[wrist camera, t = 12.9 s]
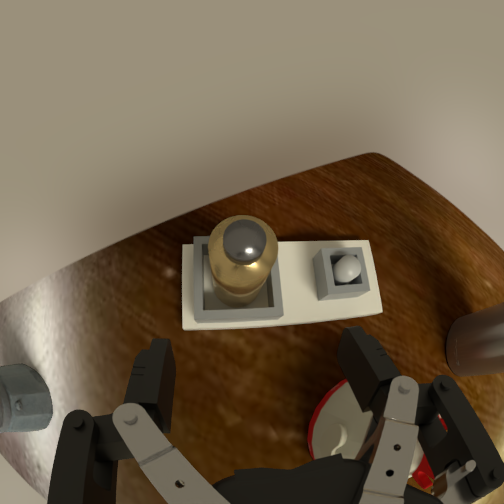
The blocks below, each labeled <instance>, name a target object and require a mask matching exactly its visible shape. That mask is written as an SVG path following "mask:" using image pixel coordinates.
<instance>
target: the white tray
mask: <svg viewBox="0 0 504 504" xmlns="http://www.w3.org/2000/svg"><path fill="white" fill-rule="evenodd" d="M209 238H210V236H195V237H194V244H184V245H183V251H182V321H183V329H184V330H215V329H239V328H256V327H271V326H283V325H295V324H305V323H315V322H324V321H332V320H340V319H348V318H355V317H362V316H369V315H375V314H379V313H381V312H383V311H382V305H381V299H380V293H379V287H378V282H377V277H376V272H375V267H374V262H373V258H372V253H371V249H370V244H369V240H348V241H296V242H278V256H277V259H276V262H275V263H274V265H273V267H272V269H271V271H270V273H269V275H268V277H267V279H266V281H265V282H264V284H263V286H262V288H261V290H260V292H259V294H258V296H257V297H256V299H255V300H254V301H253V302H252V303H250V304H249V305H247V306H244V307H239V308H236V307H230V306H227V305H225V304H224V303H222V302H221V301H220V300H219V299H218V298H217V296H216V294H215V292H214V288H213V281H212V273H211V266H210V259H209V251H208V242H209Z"/></svg>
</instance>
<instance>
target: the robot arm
mask: <svg viewBox="0 0 504 504" xmlns="http://www.w3.org/2000/svg"><path fill="white" fill-rule="evenodd" d="M446 355H447V361H448V364H449V367H450V368H451V370H452V372H453V373H454V374H456V375H457V376H474V375H486V374H495V373H502V372H504V302H503V303H500V304H497V305H495V306H492V307H489V308H486V309H483V310H480V311H477V312H474V313H471V314H468V315H465V316H462V317H459V318H458V319H456V320H455V322H454V323H453V324H452V326H451V328H450V330H449V333H448V337H447V344H446ZM337 359H338V363H339V365H340V367H341V369H342V371H343V373H344V375H345V377H346V379H347V381H348V383H349V385H350V387H351V389H352V391H353V394H354V396H355V398H356V400H357V402H358V404H359V406H360V408H361V410H362V412H363V413H364V412H368V411H372V413H373V415H372V417H371V419H370V422H369V425H368V428H367V431H366V434H365V437H364V440H363V443H362V446H361V448H360V450H359V452H358V454H357V455H356V457H355V459H346V458H343V457H342V454H341V453H339V454H335V455H331V456H327V457H323V458H318V459H315V460H313V461H311V462H309V463H306V464H304V465H302V466H299V467H297V468H295V469H291V470H285V469H271V468H253V469H240V470H234V473H235V475H233V476H230V477H227V478H224V479H222V480H220V481H218V482H216V483H215V484H213V485H212V486H211V485H210V484H209V483H208V482H207V481H206V480H205V479H204V478H203V477H202V476H201V475H200V474H199V473H198V472H197V471H196V470H195V469H194V467H193V466H192V465H191V464H190V463H189V462H188V461H187V460H186V459H185V458H184V456H183V455H182V454H181V453H180V452H179V451H178V450H177V449H176V448H175V447H174V446H172V445H171V444H170V442H169V441H168V440H167V439H166V438H165V436H164V435H163V433H170V429H171V417H172V405H173V395H174V386H175V377H176V366H175V360H174V356H173V351H172V347H171V342H170V339H152V342H151V346H150V350H141V352H140V353H139V354H138V355H137V356H136V358H135V361H134V365H133V368H132V372H131V376H130V379H129V383H128V387H127V391H126V395H125V399H124V403H123V405H121V406H119V407H118V408H117V409H116V410H115V411H114V413H112V414H109V415H103V416H95V417H92V416H91V415H90V414H89V413H88V412H86V411H84V410H74V411H72V412H70V413H69V414H67V416H66V417H65V419H64V421H63V425H62V429H61V433H60V437H59V441H58V445H57V449H56V454H55V459H54V464H53V469H52V474H51V480H50V487H49V494H48V502H47V504H116V482H117V468H118V460H122V459H129V458H135V459H136V460H137V462H138V463H139V466H140V468H141V469H142V470H143V472H144V473H145V475H146V476H147V477H148V479H149V480H150V481H151V483H152V484H153V485H154V487H155V488H156V489H157V490H158V492H159V493H160V494H161V495H162V497H163V498H164V499H165V500H166V501H167V503H168V504H472V503H474V502H475V501H477V500H479V499H481V498H482V497H484V496H486V495H487V494H489V493H490V492H492V491H494V490H495V489H497V488H498V487H500V486H501V485H502V484H503V482H504V463H503V461H502V459H501V457H500V455H499V453H498V451H497V449H496V448H495V446H494V444H493V442H492V440H491V438H490V437H489V435H488V433H487V431H486V430H485V428H484V426H483V425H482V423H481V421H480V420H479V418H478V416H477V415H476V413H475V411H474V410H473V408H472V407H471V405H470V403H469V402H468V400H467V399H466V397H465V396H464V394H463V393H462V391H461V390H460V388H459V387H458V385H457V384H456V382H455V381H454V380H453V379H452V378H451V377H449V376H446V375H439V376H437V377H436V378H435V379H434V380H433V382H432V383H428V384H417V383H416V381H415V380H413V379H412V378H410V377H407V376H402V375H401V374H400V372H399V371H398V369H397V368H396V366H395V365H394V363H393V362H392V360H391V359H390V357H389V356H388V355H387V353H386V352H385V350H384V349H383V347H382V346H381V344H380V343H379V341H378V340H377V339H375V338H374V337H373V336H371V335H366V333H365V332H364V330H363V329H362V327H360V326H355V327H348V328H344V330H343V333H342V337H341V340H340V344H339V347H338V351H337ZM439 414H440V415H441V417H442V419H443V420H444V422H445V424H446V426H447V429H448V432H446V430H445V428H444V426H443V425H442V423H441V421H440V419H439V417H438V415H439ZM417 439H418V441H419V443H420V445H421V447H422V450H423V452H424V454H425V456H426V458H427V461H428V463H429V465H430V468H431V470H432V472H433V475H434V477H435V479H434V482H433V487H432V488H431V493H432V495H431V494H428V493H426V492H424V491H421V490H419V489H417V488H415V487H412V486H410V485H408V484H406V483H407V480H408V476H409V472H410V469H411V464H412V460H413V456H414V451H415V446H416V441H417ZM433 495H434V496H433Z"/></svg>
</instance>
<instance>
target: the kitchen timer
mask: <svg viewBox="0 0 504 504" xmlns="http://www.w3.org/2000/svg"><path fill="white" fill-rule="evenodd" d="M372 415H373V413H372V411H368V412H364V413H363V412H362V410H361V408H360V406H359V404H358V402H357V400H356V398H355V396H354V394H353V391H352V389H351V387H350V385H349V383H348V381H347V379H344V380H342V381H340V382H339V383H338V384H337V385H336V386H334V387H333V388H332V389H331V390H330V391H328V392H327V393H326V395H325V396H324V397H323V399H322V400H321V401H320V403H319V404H318V405H317V407H316V409H315V411H314V414H313V416H312V418H311V421H310V423H309V430H308V437H307V441H308V446H309V451H310V455H311V456H312V458H313V459H314V460H315V459H318V458H323V457H327V456H331V455H335V454H339V453H341V454H342V457H343V458H346V459H355V457H356V455H357V454H358V452H359V450H360V448H361V446H362V443H363V440H364V437H365V434H366V431H367V428H368V425H369V422H370V419H371V417H372ZM438 417H439V419H440V421H441V423H442V425H443V426H444V428H445V430H447V426H446V424H445V422H444V420H443V419H441V417H440V414H439V415H438ZM427 475H428V476H429V477H431V478H432V479H435V477H434V475H433V472H432V470H431V468H430V465H429V463H428V461H427V458H426V456H425V454H424V452H423V450H422V447H421V445H420V443H419V441H418V439H417V441H416V446H415V451H414V456H413V460H412V464H411V469H410V472H409V476H408V478H410V477H413V478H414V479H415V481H416V482H417V483H418V484H419V485H420V486H421V487H422V488H423V489H426V488H427V487H429V486H431V485H433V484H432V482H431V480H430V479H429V478H428V476H427Z"/></svg>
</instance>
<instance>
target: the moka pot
mask: <svg viewBox="0 0 504 504" xmlns="http://www.w3.org/2000/svg"><path fill="white" fill-rule="evenodd" d="M52 414H53V411H52V401H51V397H50V393H49V391H48V388H47V386H46V384H45V382H44V381H43V379H42V378H41V377H40V375H39V374H38V373H37V372H36V371H35V370H33V369H32V368H30V367H28V366H26V365H24V364H15V365H8V366H1V367H0V433H3V432H28V431H37V430H41V429H45V428H47V426H48V425H49V423H50V420H51V418H52Z"/></svg>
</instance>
